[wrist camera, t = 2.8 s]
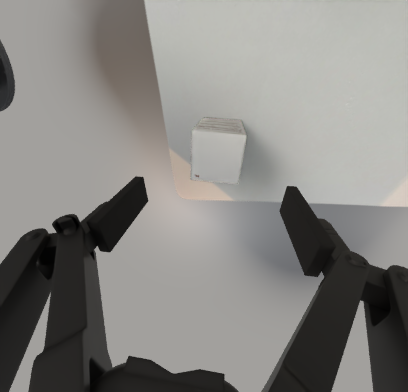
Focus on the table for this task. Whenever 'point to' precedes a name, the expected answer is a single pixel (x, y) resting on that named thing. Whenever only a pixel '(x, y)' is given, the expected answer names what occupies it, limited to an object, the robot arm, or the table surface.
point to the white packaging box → (217, 150)
